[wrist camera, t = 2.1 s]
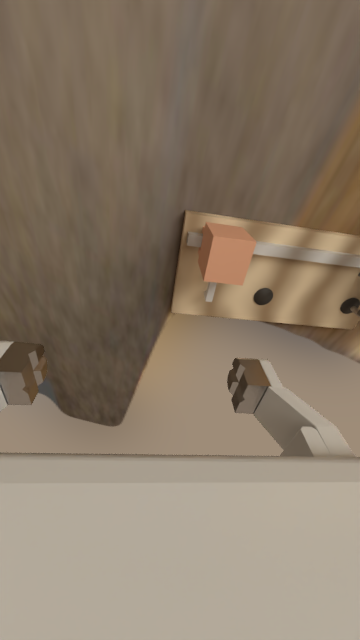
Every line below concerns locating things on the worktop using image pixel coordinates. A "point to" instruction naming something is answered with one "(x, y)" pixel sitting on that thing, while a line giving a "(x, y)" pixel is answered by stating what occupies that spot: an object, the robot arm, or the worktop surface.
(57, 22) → the worktop surface
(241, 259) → the block
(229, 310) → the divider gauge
